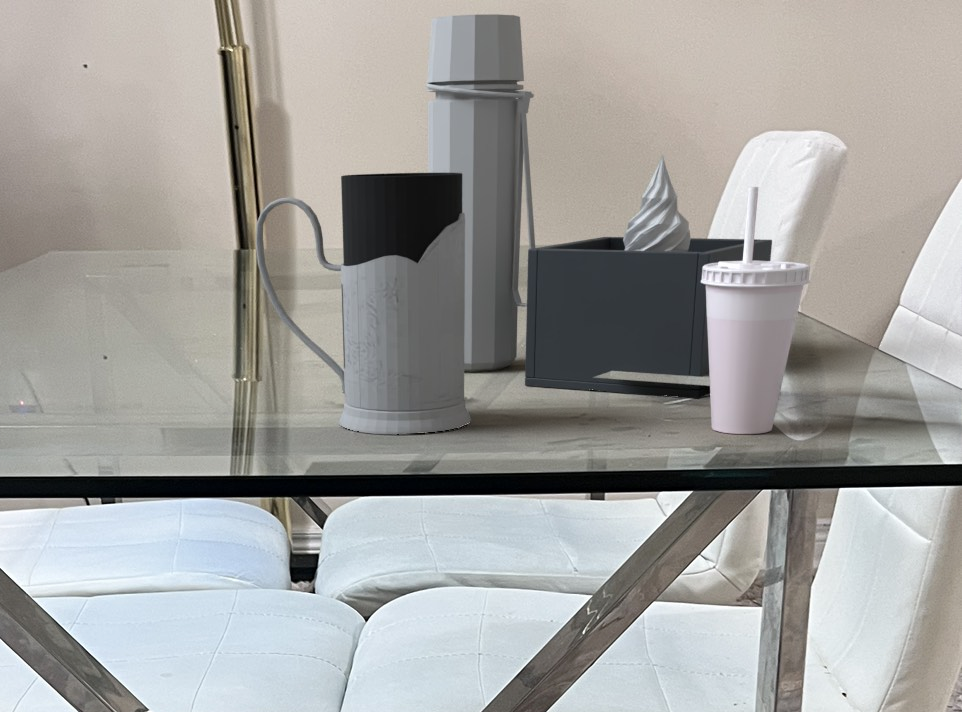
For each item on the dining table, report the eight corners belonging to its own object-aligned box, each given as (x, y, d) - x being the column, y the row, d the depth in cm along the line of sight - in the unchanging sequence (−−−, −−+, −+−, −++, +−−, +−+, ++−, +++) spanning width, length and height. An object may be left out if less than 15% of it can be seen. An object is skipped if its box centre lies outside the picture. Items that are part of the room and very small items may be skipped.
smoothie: (714, 415, 92) (732, 185, 86) (809, 424, 89) (835, 185, 83) (673, 432, 87) (689, 189, 82) (772, 442, 84) (796, 189, 78)
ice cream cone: (675, 376, 103) (690, 154, 97) (607, 374, 105) (618, 155, 99) (686, 366, 108) (701, 153, 101) (620, 364, 109) (631, 154, 103)
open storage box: (760, 371, 109) (772, 239, 105) (698, 398, 98) (709, 253, 94) (598, 361, 115) (604, 236, 111) (524, 385, 105) (527, 248, 101)
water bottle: (408, 369, 113) (404, 18, 103) (459, 357, 119) (461, 23, 108) (507, 378, 108) (514, 10, 98) (555, 364, 114) (567, 16, 104)
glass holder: (452, 436, 87) (453, 175, 81) (241, 428, 91) (226, 178, 85) (484, 412, 95) (487, 171, 89) (288, 405, 99) (277, 174, 93)
